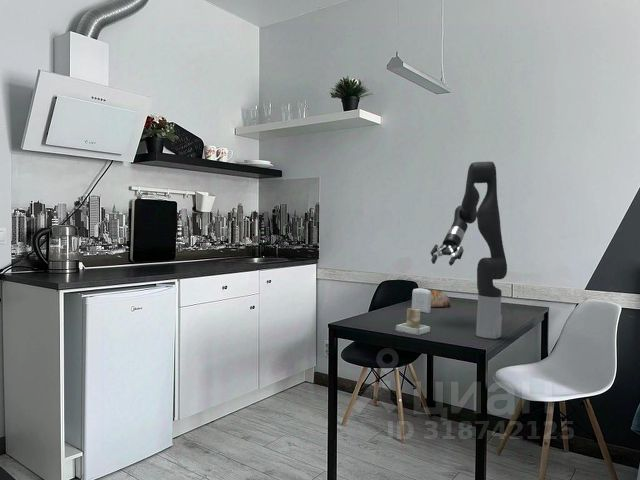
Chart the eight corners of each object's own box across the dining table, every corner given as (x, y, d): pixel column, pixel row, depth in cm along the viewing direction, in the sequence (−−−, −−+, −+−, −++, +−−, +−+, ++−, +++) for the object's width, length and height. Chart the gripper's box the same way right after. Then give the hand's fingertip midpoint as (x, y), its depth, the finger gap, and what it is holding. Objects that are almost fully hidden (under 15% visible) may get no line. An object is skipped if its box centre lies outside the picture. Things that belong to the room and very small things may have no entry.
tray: (429, 332, 215) (430, 326, 215) (418, 335, 207) (418, 329, 207) (407, 327, 222) (407, 322, 222) (395, 330, 214) (395, 325, 214)
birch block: (419, 330, 215) (420, 309, 214) (415, 331, 212) (416, 310, 212) (410, 328, 217) (411, 308, 217) (406, 329, 215) (407, 308, 214)
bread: (415, 308, 283) (415, 290, 283) (427, 303, 300) (426, 286, 300) (444, 309, 275) (444, 291, 275) (454, 305, 292) (454, 288, 292)
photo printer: (431, 312, 264) (432, 289, 263) (428, 313, 260) (429, 289, 260) (413, 309, 269) (414, 287, 269) (410, 310, 266) (411, 287, 265)
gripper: (437, 231, 238) (424, 256, 230) (466, 233, 229) (453, 259, 221) (442, 243, 242) (429, 267, 234) (470, 244, 233) (458, 270, 225)
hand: (441, 263), depth 227 cm, fingers open, 8 cm apart
